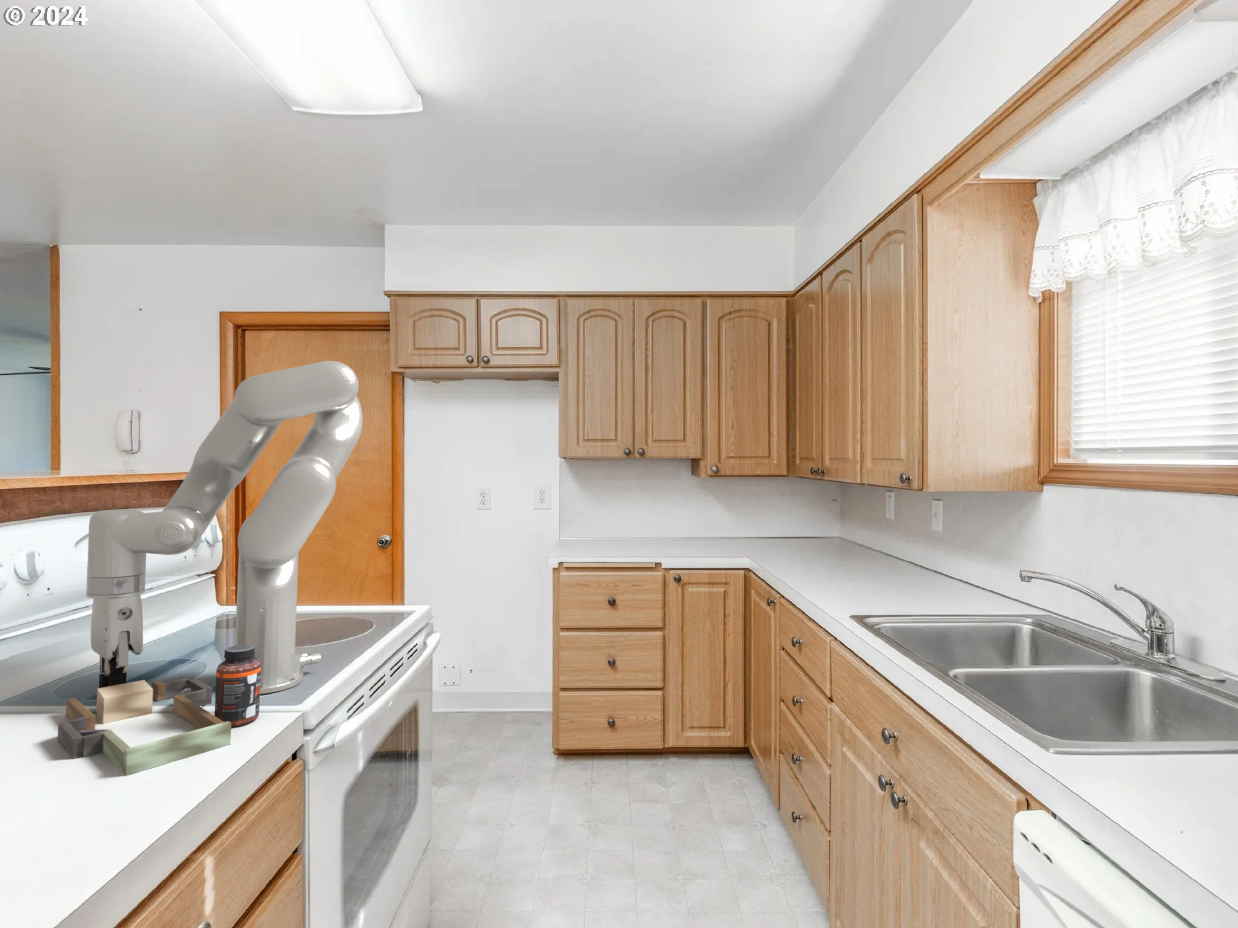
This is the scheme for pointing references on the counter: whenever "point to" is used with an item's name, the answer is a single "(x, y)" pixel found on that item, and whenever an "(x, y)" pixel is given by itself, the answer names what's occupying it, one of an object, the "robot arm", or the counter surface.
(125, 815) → the counter surface
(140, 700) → the block
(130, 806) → the counter surface
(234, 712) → the supplement bottle
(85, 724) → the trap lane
